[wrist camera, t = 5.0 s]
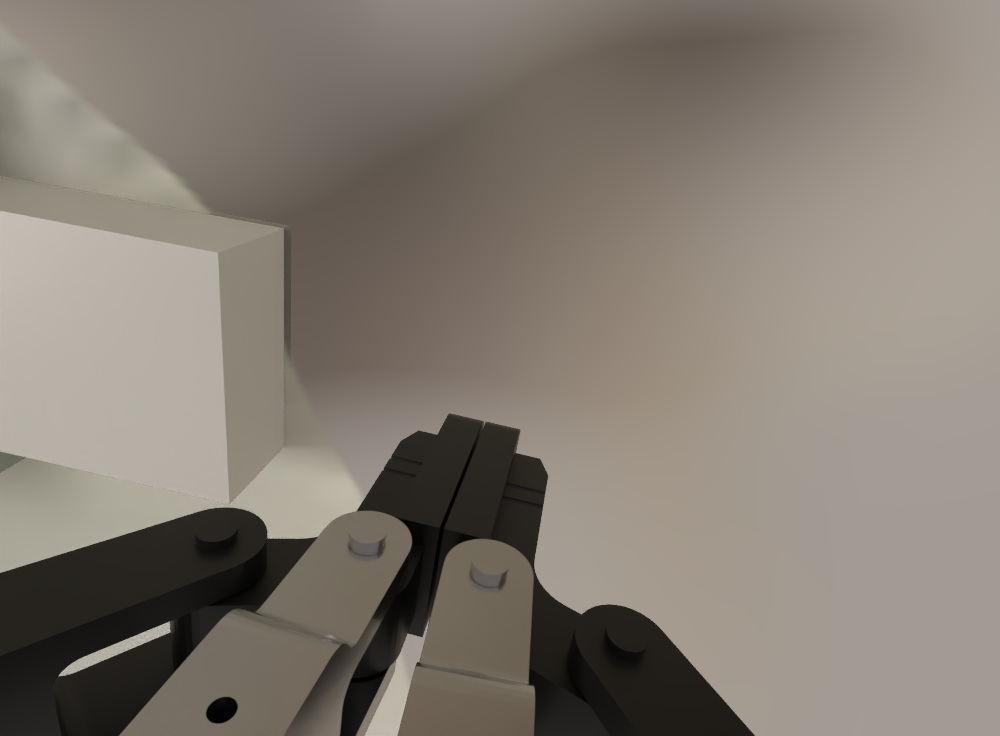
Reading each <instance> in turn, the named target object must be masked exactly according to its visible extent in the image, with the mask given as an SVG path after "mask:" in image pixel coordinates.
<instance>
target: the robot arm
mask: <svg viewBox="0 0 1000 736" xmlns="http://www.w3.org/2000/svg"><path fill="white" fill-rule="evenodd" d="M483 426H484V428H483ZM519 434H520V429H516V428H511V427H507V426H503V425H498V424H494V423H490V422H486V423H485V425H484V422H483V421H480V420H475V419H471V418H467V417H462V416H459V415H454V414H449V415H448V416H447V418H446V420H445V422H444V424H443V426H442V428H441V429H440V431H439V433H438V435H435V434H431V433H426V432H422V431H417V432H416V433H414V434H412V435H410V436H409V437H407V438H405V439H403V440H402V441H401V442H400V443H399V445H398V446H397V448H396V450H395V451H394V453H393V454H392V457H391V459H389V461H388V462H387V464H386V466H385V467H384V470H383V471H382V472H381V474H380V475H379V477H378V478H377V480H376V481H375V483H374V485H373V486H372V488H371V490H370V491H369V493H368V494H367V496H366V497H365V499H364V501H363V502H362V504H361V505H360V507H359V509H358V510H357V512H352V513H348V514H345V515H342V516H340V517H338V518H336V519H335V520H333V521H332V522H331V523H330V524H329V525H328V526H327V527H326V528H325V529H324V530H323V532H322V533H321V534H320V535H319V536H318V537H315V538H308V539H267V529H266V526H265V524H264V522H263V521H262V520H261V519H260V518H259V517H258V516H256V515H255V514H253V513H251V512H249V511H246V510H242V509H237V508H214V509H208V510H204V511H200V512H197V513H193V514H190V515H187V516H184V517H180V518H177V519H174V520H171V521H167V522H164V523H161V524H158V525H155V526H151V527H148V528H145V529H142V530H138V531H135V532H132V533H129V534H125V535H122V536H119V537H116V538H112V539H109V540H106V541H103V542H100V543H96V544H93V545H90V546H87V547H83V548H80V549H77V550H74V551H70V552H67V553H64V554H61V555H57V556H54V557H51V558H48V559H44V560H41V561H38V562H35V563H32V564H28V565H25V566H22V567H19V568H15V569H12V570H9V571H6V572H2V573H0V736H364V735H365V733H366V731H367V729H368V727H369V725H370V722H371V720H372V718H373V716H374V714H375V712H376V710H377V708H378V706H379V704H380V701H381V699H382V697H383V695H384V693H385V691H386V689H387V687H388V685H389V683H390V680H391V678H392V676H393V673H394V670H395V663H396V659H397V658H398V656H399V654H400V652H401V649H402V646H403V643H404V641H405V639H406V636H407V633H409V634H413V635H416V636H420V637H423V634H424V631H425V628H426V625H427V622H428V620H429V624H428V630H427V634H426V638H425V642H424V646H423V650H422V654H421V658H420V661H419V662H417V664H416V667H415V670H414V674H413V677H412V681H411V685H410V689H409V693H408V697H407V701H406V705H405V709H404V713H403V717H402V720H401V724H400V728H399V732H398V736H755V735H754V734H753V733H752V732H751V731H750V730H749V729H748V727H747V726H746V725H745V724H744V723H743V722H742V721H741V720H740V718H739V717H738V716H737V715H736V714H735V713H734V712H733V710H732V709H731V708H730V707H729V706H728V705H727V704H726V702H724V700H723V699H722V698H721V697H720V696H719V695H718V693H716V691H715V690H714V689H713V688H712V687H711V685H710V684H709V683H708V682H707V681H706V680H705V679H704V678H703V676H702V675H701V674H700V673H699V672H698V671H697V670H696V669H695V668H694V667H693V665H692V664H691V663H690V662H689V661H688V659H686V657H685V656H684V655H683V654H682V653H681V652H680V651H679V649H678V648H677V647H676V646H675V645H674V644H673V643H672V642H671V640H670V639H669V638H668V637H667V636H666V635H665V634H664V632H663V631H662V630H661V629H660V628H659V627H658V626H657V625H656V624H655V623H654V622H653V621H651V620H650V619H649V618H647V617H645V616H644V615H642V614H641V613H639V612H637V611H634V610H632V609H630V608H627V607H623V606H618V605H600V606H595V607H593V608H591V609H588V610H587V611H586V612H585V613H583V614H582V615H581V614H579V613H577V612H576V611H574V610H572V609H570V608H568V607H566V606H565V605H563V604H561V603H560V602H558V601H557V600H555V599H554V598H553V597H552V596H550V594H549V593H548V592H547V591H546V590H545V589H544V588H543V587H542V585H541V584H540V582H539V580H538V579H537V576H536V573H535V569H534V559H535V553H536V546H537V541H538V534H539V527H540V522H541V516H542V509H543V504H544V497H545V491H546V485H547V479H548V475H547V472H546V470H545V468H544V466H543V464H542V462H541V460H540V459H538V458H533V457H530V456H525V455H521V454H517V453H516V449H517V444H518V440H519ZM429 617H430V618H429ZM169 621H170V630H171V632H170V633H168V634H166V635H163V636H161V637H159V638H156V639H154V640H152V641H149V642H147V643H144V644H142V645H140V646H137V647H135V648H133V649H130V650H128V651H125V652H123V653H121V654H118V655H116V656H114V657H111V658H109V659H106V660H104V661H102V662H99V663H97V664H95V665H92V666H90V667H88V668H85V669H83V670H80V671H78V672H76V673H73V674H70V675H66V676H58V675H59V674H60V673H61V672H62V671H63V670H64V669H65V668H66V667H67V666H69V665H70V664H71V663H73V662H74V661H76V660H78V659H80V658H82V657H84V656H86V655H89V654H91V653H94V652H96V651H98V650H101V649H103V648H106V647H108V646H111V645H113V644H116V643H118V642H120V641H123V640H125V639H128V638H130V637H133V636H135V635H137V634H140V633H142V632H145V631H147V630H150V629H152V628H155V627H157V626H159V625H162V624H164V623H167V622H169Z"/></svg>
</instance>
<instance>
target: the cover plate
mask: <svg viewBox="0 0 1000 736" xmlns="http://www.w3.org/2000/svg"><path fill="white" fill-rule="evenodd" d="M206 211H207V212H208V214H204V213H199V212H193V211H188V210H182V209H177V208H172V207H166V206H161V205H156V204H150V203H145V202H140V201H134V200H129V199H124V198H118V197H113V196H108V195H102V194H97V193H91V192H86V191H81V190H75V189H70V188H65V187H59V186H54V185H49V184H43V183H38V182H33V181H27V180H22V179H17V178H11V177H6V176H0V452H5V453H9V454H13V455H18V456H22V457H26V458H31V459H35V460H39V461H44V462H48V463H52V464H57V465H61V466H65V467H70V468H74V469H78V470H83V471H87V472H91V473H96V474H100V475H104V476H109V477H113V478H117V479H122V480H126V481H130V482H135V483H139V484H143V485H148V486H152V487H156V488H161V489H165V490H170V491H174V492H178V493H183V494H187V495H191V496H196V497H200V498H204V499H209V500H213V501H217V502H222V503H226V504H230V503H231V502H232V501H233V500H234V499H235V498H236V497H237V496H238V495H239V494H240V493H241V492H242V491H243V490H244V488H245V487H246V486H247V485H248V484H249V483H250V482H251V481H252V480H253V479H254V478H255V477H256V476H257V475H258V474H259V473H260V472H261V471H262V470H263V469H264V467H265V466H266V465H267V464H268V463H269V462H270V461H271V460H272V459H273V458H274V457H275V456H276V455H277V454H278V453H279V452H280V451H281V450H282V449H283V448H284V349H285V351H286V353H287V355H288V359H289V360H290V362H291V226H290V225H284V224H279V223H273V222H268V221H263V220H257V219H252V218H247V217H242V216H236V215H231V214H225V213H220V212H215V211H209V210H206Z"/></svg>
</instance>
